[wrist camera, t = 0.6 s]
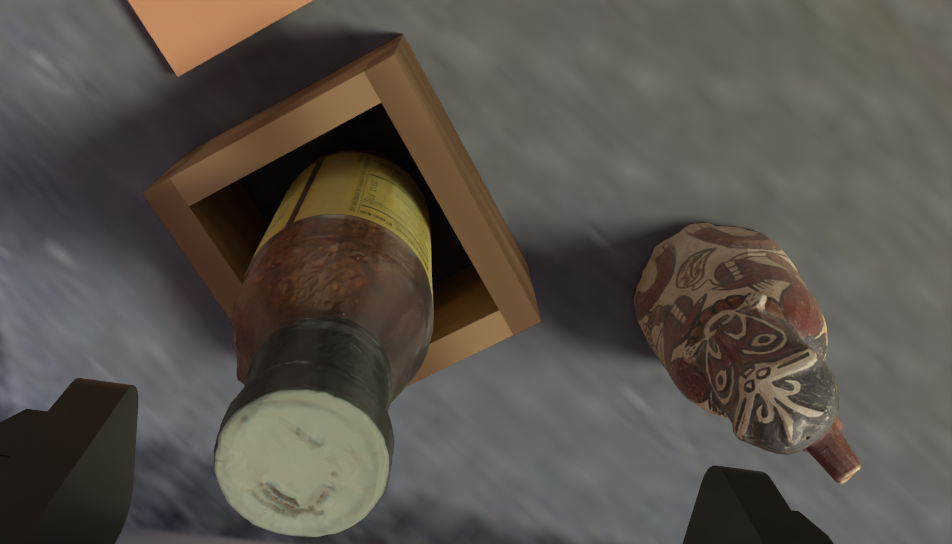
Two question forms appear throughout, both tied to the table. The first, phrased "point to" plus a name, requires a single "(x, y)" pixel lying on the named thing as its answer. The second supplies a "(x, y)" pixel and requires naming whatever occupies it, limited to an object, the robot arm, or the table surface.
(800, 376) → the figurine
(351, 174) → the sauce bottle
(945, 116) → the table surface
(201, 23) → the terracotta mat
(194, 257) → the square holder
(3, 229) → the table surface
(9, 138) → the table surface
